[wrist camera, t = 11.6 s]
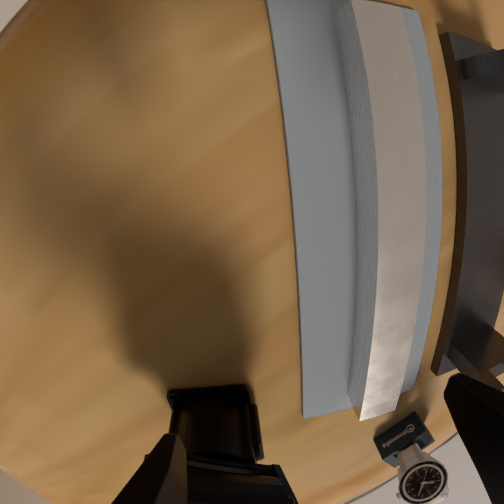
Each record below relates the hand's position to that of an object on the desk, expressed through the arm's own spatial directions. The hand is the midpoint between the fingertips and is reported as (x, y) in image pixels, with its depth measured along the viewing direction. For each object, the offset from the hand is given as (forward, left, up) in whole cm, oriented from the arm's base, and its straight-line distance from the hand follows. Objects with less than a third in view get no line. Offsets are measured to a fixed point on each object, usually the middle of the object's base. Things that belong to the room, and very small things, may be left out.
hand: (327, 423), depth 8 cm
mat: (+7, +2, -12) cm, 14 cm away
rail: (+7, +2, -12) cm, 14 cm away
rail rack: (+18, +2, -12) cm, 22 cm away
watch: (+13, -22, -12) cm, 28 cm away
